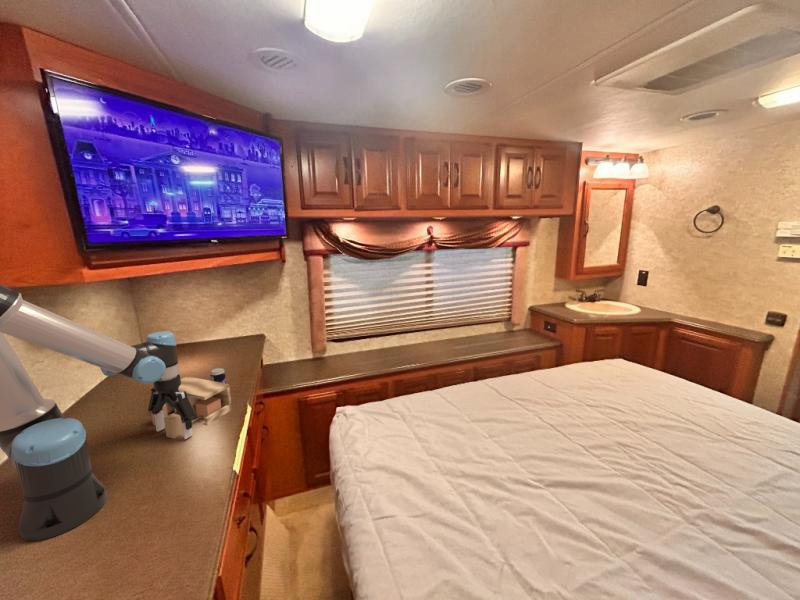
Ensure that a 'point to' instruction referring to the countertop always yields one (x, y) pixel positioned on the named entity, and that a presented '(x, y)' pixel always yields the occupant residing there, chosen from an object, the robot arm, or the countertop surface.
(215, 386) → the shelf
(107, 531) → the countertop surface
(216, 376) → the beverage can
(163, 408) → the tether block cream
